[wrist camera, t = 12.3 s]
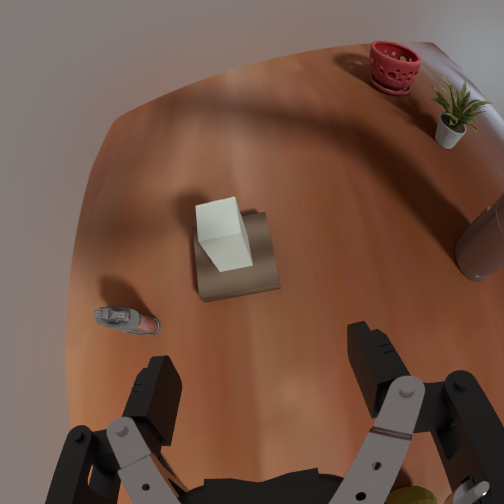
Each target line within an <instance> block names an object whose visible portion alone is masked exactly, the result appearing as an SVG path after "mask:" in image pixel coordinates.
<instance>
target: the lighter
mask: <svg viewBox="0 0 504 504" xmlns="http://www.w3.org/2000/svg"><path fill="white" fill-rule="evenodd" d="M93 316H94V317H96V321H97V323H98V324H100V325H103V326H105V327H108V328H113V329H115V330H119V331H123V332H126V333H129V334H134V335H139V336H149V335H156V334H158V333H159V332H160V330H161V324H160V322H159V320H157V319H155V318H151V317H148V316H144V315H142V314H140V313H139V312H138V311H136V310H133V309H129V308H126V307H120V306H107V307H101V308H99V309H95V310H94V312H93Z"/></svg>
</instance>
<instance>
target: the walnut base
mask: <svg viewBox="0 0 504 504" xmlns="http://www.w3.org/2000/svg"><path fill="white" fill-rule="evenodd" d="M242 220H243V223H244V226H245V229H246V232H247V235H248V241H249V246H250V252H251V258H252V263H253V266H248V267H243V268H238V269H233V270H228V271H223V272H220V271H219V270H218V268H217V267H216V266H215V264H214V263H213V261H212V260H211V259H210V257H209V256H208V254H207V253H206V252H205V250H204V249H203V247H202V246H201V245H200V243H199V242H198V231H197V226H196V227H193V236H194V248H195V259H196V270H197V280H198V289H199V298H200V299H201V300H203V301H204V302H211V301H216V300H222V299H228V298H233V297H238V296H244V295H249V294H254V293H260V292H265V291H270V290H275V289H280V288H281V287H280V281H279V276H278V271H277V266H276V261H275V257H274V252H273V247H272V242H271V238H270V233H269V228H268V224H267V219H266V214H265V212H261V213H256V214H252V215H247V216H242Z"/></svg>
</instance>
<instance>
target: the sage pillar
mask: <svg viewBox="0 0 504 504" xmlns="http://www.w3.org/2000/svg"><path fill="white" fill-rule="evenodd" d="M196 218H197V231H198V242H199V243H200V245H201V246H202V247H203V249H204V250H205V252H206V253H207V254H208V256H209V257H210V259H211V260H212V261H213V263H214V264H215V266H216V267H217V268H218V270H219V271H220V272H223V271H228V270H233V269H238V268H243V267H248V266H253V263H252V258H251V252H250V246H249V241H248V235H247V232H246V229H245V226H244V223H243V220H242V217H241V214H240V211H239V208H238V204H237V201H236V198H235V197H231V198H227V199H222V200H218V201H213V202H209V203H205V204H200V205H196Z"/></svg>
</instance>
